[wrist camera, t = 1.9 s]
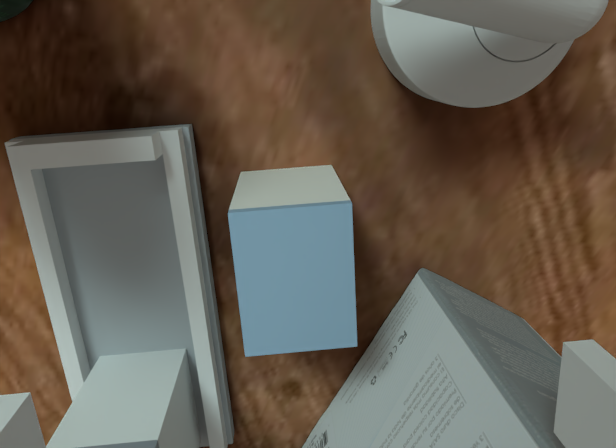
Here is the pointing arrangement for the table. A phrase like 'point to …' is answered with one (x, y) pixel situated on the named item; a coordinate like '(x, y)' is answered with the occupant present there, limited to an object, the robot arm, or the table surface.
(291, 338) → the module
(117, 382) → the block
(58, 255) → the rail
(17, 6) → the coffee jar
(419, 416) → the hard drive box
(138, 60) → the table surface
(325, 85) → the table surface
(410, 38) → the wall hook
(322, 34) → the table surface
